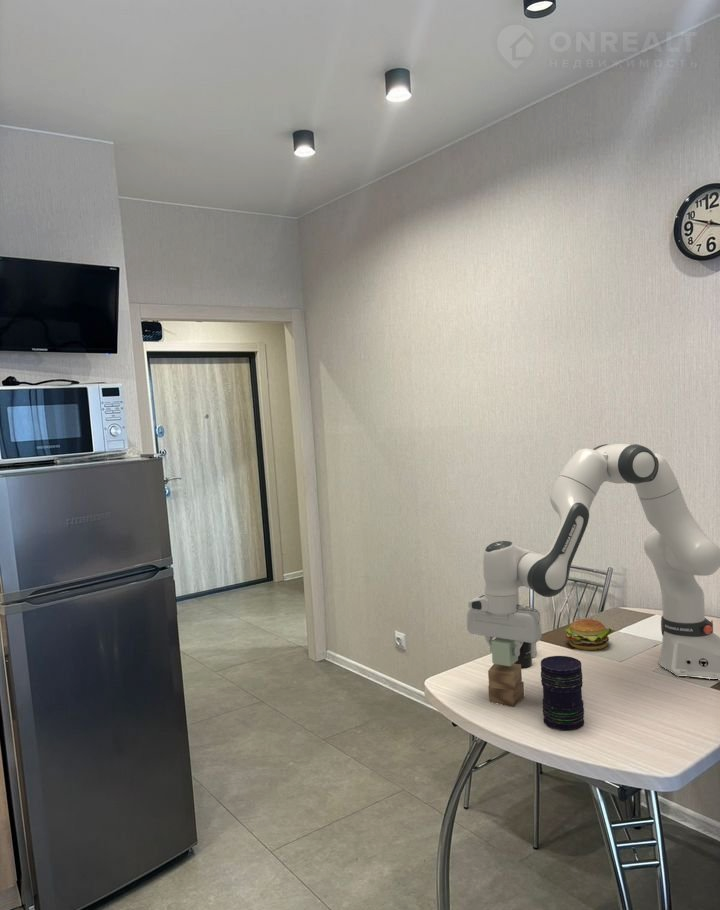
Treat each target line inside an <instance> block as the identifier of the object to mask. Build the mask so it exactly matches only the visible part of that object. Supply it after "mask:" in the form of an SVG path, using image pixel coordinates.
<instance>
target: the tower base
mask: <svg viewBox="0 0 720 910" xmlns="http://www.w3.org/2000/svg"><path fill="white" fill-rule="evenodd" d="M487 687H488V702H489V701H490V702H489V703H491V702H493V704H496V703H498V704H497V705H501V704H502V705H501V706H505V705H506V706H507V707H511V708H515V707H516V706H517V705H518V704H519V703H520V702H521V701H523V699H524V698H525V681H521V683H520V684H519V686H518V687H517V689H516V690H515V691H513V690H506V689H498V688H490V687H489V685H488V686H487Z"/></svg>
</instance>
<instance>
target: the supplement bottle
mask: <svg viewBox="0 0 720 910" xmlns="http://www.w3.org/2000/svg"><path fill="white" fill-rule="evenodd" d="M514 664H521V669H525V668H529V667H531V666H532V664H533V657H532V649H531V643H528V642H523V644H522V646H521V648H520V655H519V656H518V661H516V662H515V663H514Z"/></svg>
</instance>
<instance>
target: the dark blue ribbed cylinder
mask: <svg viewBox="0 0 720 910" xmlns="http://www.w3.org/2000/svg"><path fill="white" fill-rule="evenodd" d="M540 678H541V680H540V683H541V686H542V695H543V697H542V699H541V701H542V703H541V704H542V707H541V708H542V714H543V724H544V725H545V726H546V727H548V728H550V729H552V730H556V731H560V732H561V731H562V732H572V731H577V730H580V729H581V728H583V727H584V726H585V720H584V717H585V708H584V705H585V704H584V699H583V695H582V694H583V693H582V692H583V691H582V688H583V683H584V681H583V669H582V661H581V660H579V659H577V658H575V657H572V656H566V655H551V656H548V657H544V658H542V659H541V660H540Z"/></svg>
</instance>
